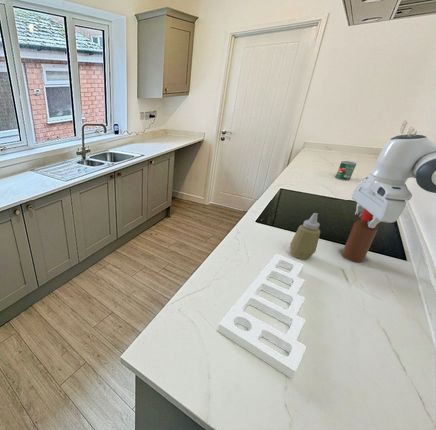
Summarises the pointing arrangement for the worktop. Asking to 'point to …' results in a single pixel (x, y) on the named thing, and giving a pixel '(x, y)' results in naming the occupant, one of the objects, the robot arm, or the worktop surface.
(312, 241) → the squeeze bottle
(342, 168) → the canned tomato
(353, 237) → the bottle
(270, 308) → the holder
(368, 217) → the cap
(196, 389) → the worktop surface
